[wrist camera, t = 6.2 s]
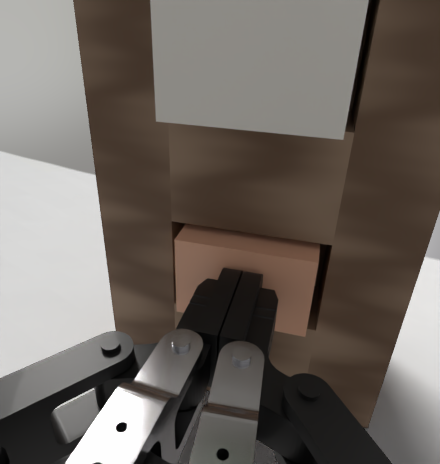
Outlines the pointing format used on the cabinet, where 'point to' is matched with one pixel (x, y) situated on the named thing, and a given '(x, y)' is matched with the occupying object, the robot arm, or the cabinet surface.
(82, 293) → the cabinet surface
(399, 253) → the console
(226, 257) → the block
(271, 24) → the key middle
